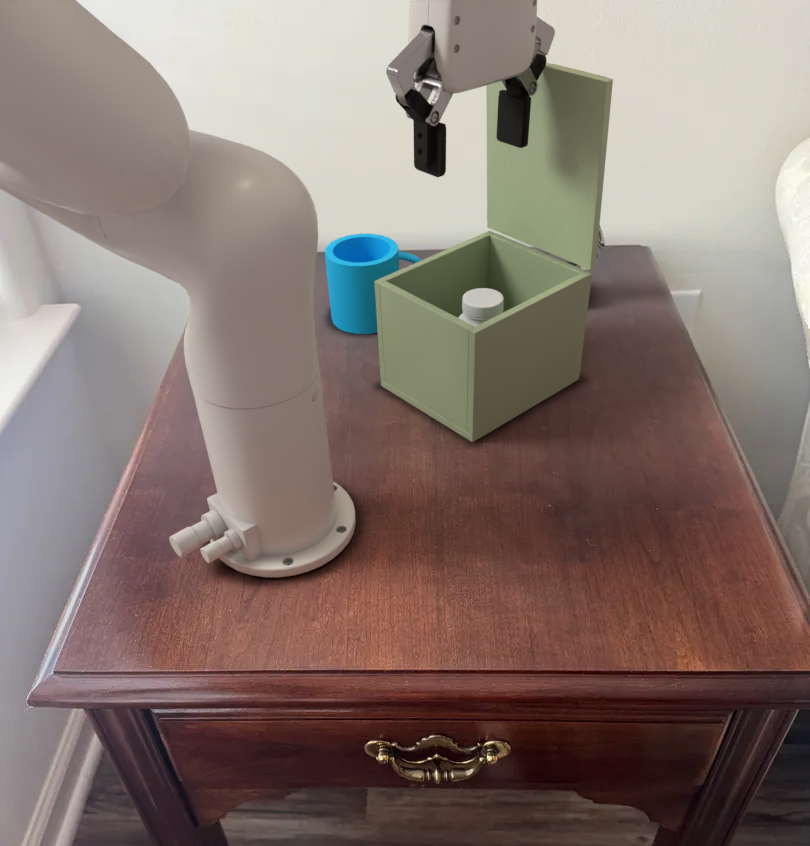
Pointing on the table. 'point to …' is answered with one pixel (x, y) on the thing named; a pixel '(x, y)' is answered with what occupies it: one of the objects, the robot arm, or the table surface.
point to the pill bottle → (481, 305)
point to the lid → (552, 166)
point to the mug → (359, 278)
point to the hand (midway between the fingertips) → (472, 157)
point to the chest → (481, 332)
